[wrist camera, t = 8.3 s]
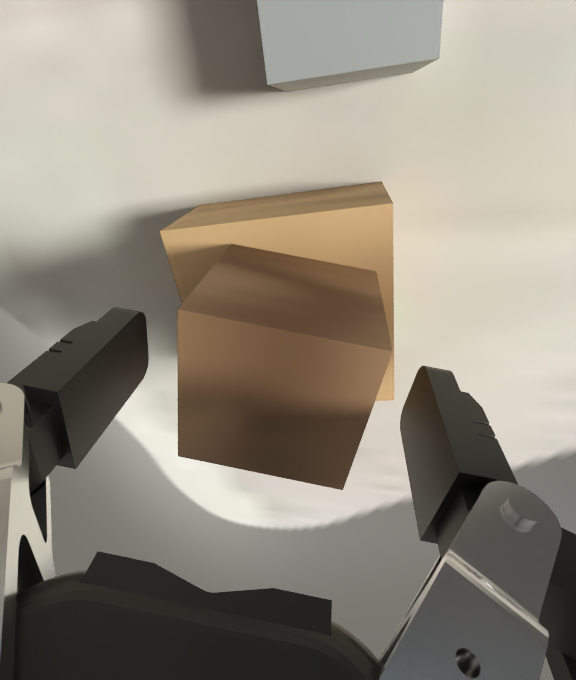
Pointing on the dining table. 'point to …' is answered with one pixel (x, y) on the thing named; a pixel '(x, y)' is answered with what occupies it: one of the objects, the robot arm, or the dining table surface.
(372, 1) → the slate-grey cube
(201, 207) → the teak block
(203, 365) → the walnut cube
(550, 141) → the dining table surface
